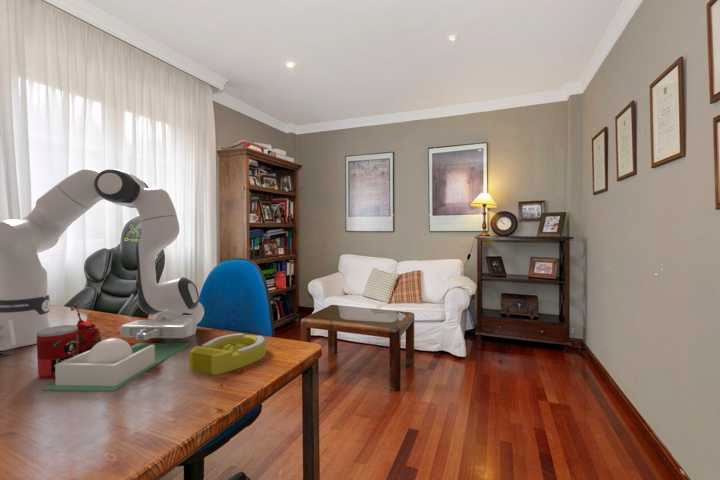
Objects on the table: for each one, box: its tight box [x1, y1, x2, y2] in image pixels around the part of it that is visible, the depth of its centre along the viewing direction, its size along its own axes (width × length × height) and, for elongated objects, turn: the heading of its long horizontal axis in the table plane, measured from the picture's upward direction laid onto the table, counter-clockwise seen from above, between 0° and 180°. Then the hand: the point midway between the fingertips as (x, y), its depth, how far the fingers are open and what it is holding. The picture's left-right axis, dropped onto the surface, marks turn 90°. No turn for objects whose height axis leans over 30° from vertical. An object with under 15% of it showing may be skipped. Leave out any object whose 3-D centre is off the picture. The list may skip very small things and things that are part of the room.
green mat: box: [42, 342, 189, 392], centre depth 91 cm, size 31×16×1 cm, turn 178°
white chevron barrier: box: [55, 345, 155, 386], centre depth 84 cm, size 14×14×5 cm
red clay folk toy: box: [70, 301, 103, 355], centre depth 100 cm, size 8×7×15 cm
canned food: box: [36, 324, 79, 380], centre depth 85 cm, size 8×8×11 cm
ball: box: [87, 337, 132, 364], centre depth 84 cm, size 9×9×9 cm
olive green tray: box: [188, 332, 267, 376], centre depth 95 cm, size 16×21×5 cm
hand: (140, 337), depth 96 cm, fingers closed
